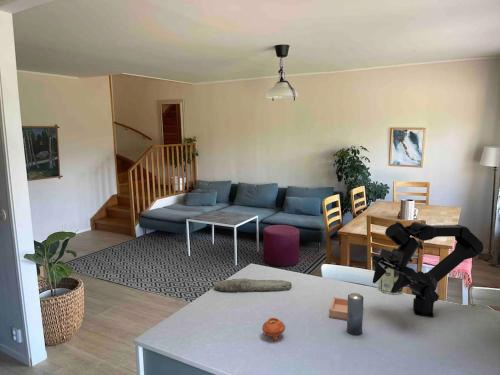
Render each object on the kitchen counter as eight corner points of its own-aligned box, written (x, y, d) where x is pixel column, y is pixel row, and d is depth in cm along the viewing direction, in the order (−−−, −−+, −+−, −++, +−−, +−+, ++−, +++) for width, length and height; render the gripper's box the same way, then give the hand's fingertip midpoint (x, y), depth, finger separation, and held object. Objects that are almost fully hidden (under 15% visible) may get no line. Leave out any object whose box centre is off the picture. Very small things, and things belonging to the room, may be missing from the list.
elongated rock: (292, 296, 164) (290, 287, 174) (293, 284, 163) (290, 276, 173) (213, 293, 163) (214, 285, 173) (213, 281, 162) (215, 274, 172)
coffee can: (400, 285, 169) (401, 255, 167) (404, 295, 159) (406, 263, 157) (376, 284, 172) (377, 254, 169) (379, 293, 162) (380, 262, 159)
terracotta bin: (363, 308, 148) (363, 301, 148) (361, 322, 138) (361, 314, 137) (333, 304, 152) (333, 297, 152) (329, 317, 142) (329, 310, 141)
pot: (290, 339, 126) (285, 322, 125) (268, 347, 125) (263, 330, 124) (283, 327, 134) (278, 310, 133) (262, 334, 133) (258, 317, 131)
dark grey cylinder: (362, 329, 133) (363, 293, 131) (361, 336, 128) (362, 300, 126) (347, 326, 135) (348, 291, 133) (346, 334, 130) (347, 298, 128)
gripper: (374, 234, 143) (352, 267, 141) (413, 247, 126) (389, 285, 124) (390, 249, 148) (369, 282, 145) (430, 264, 131) (407, 301, 128)
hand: (382, 287), depth 136 cm, fingers open, 9 cm apart
